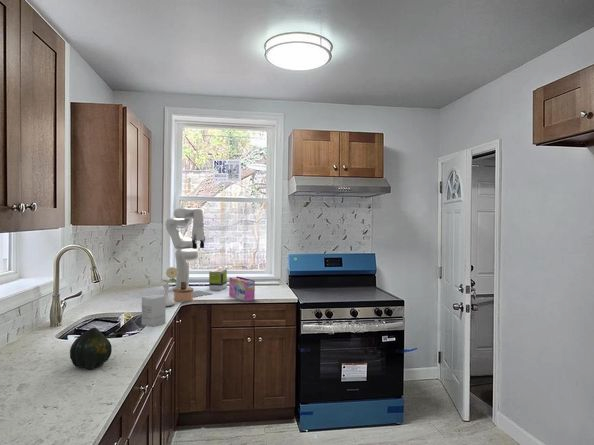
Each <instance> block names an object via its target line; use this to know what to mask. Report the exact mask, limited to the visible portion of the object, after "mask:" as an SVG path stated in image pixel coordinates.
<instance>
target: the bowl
mask: <svg viewBox="0 0 594 445" xmlns="http://www.w3.org/2000/svg"><path fill="white" fill-rule="evenodd" d="M193 299H194V297H193V291H192V292H186V293H178V292H174V291H173V300H174V301H175V302H189V301H192V300H193Z"/></svg>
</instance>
